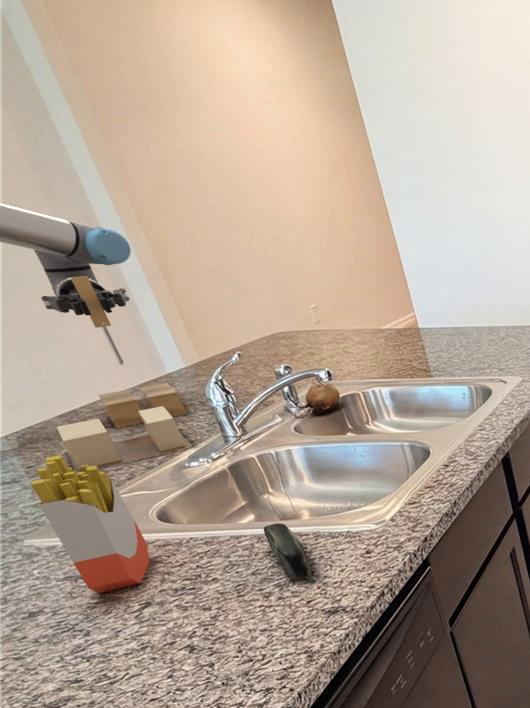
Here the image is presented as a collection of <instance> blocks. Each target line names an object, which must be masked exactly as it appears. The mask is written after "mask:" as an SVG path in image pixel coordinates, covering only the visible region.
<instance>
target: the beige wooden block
mask: <svg viewBox="0 0 530 708" xmlns="http://www.w3.org/2000/svg"><path fill="white" fill-rule="evenodd" d="M138 412H139V414H140V416H141V418H142V420H143V423H142V424H144V427H145V429H146V431H147V433H148V435H150V437H151V439H152V440H153V442H154V443H155V445H156V446H157V447H158V449H159V450H160V451H165V450H169V449H173V448H178V447H182V446H186V445H185V443H184V441H183V439H182V436H183V435H182V434H181V432H180V430H179V427H178V426H177V424H176V421H175V418H173V417H172V416H171V415H170V414H169V413H168V412H167V410H166V409H165V408H164V407H163V406H162V407H156V408H151V409H149V408H147V409H141V411H138ZM181 435H182V436H181Z"/></svg>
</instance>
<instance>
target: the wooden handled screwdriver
mask: <svg viewBox="0 0 530 708" xmlns="http://www.w3.org/2000/svg"><path fill="white" fill-rule="evenodd" d="M71 280H72V282H73V284H74V286H75V288H76V290H77V292H78V294H79V296H80V298H82V299H83V300H84V301H85V303H86V305H87V307H88V309H89V311H90V313H91V315H88V316H89V318H90V320H91V322H92V324H93V326H94V328H95V329H97V328H101V330H102V332H103V334H104V336H105V338H106V340H107V342H108V344H109V346H110V348H111V350H112V352H113V354H114V356H115V358H116V360H117V362H118V364H119V366H123V365H124V360H123V357H122V356H121V353H120V352H119V350H118V348H117V346H116V344H115V341H114V340H113V338H112V335H111V334H110V332H109V329H108V328H107V327H111V326H112V324H111V321H110V320H109V318H108V316H107V312H106V311H105V310H103V308H102V306H101V303H100V301H99V299H98V297H97V295H96V293H95V291H94V289H93V287H92V285H91V283H90V281H89V279H88V277H87V276H84V277H72V278H71Z"/></svg>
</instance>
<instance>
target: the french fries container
mask: <svg viewBox="0 0 530 708" xmlns="http://www.w3.org/2000/svg"><path fill="white" fill-rule="evenodd" d="M45 465H46V466H47V467H42V468H39V469H38V470H36V473H37V475H38V476H39V478H40V479H37V480H32V481H31V482H30V487H31V488H32V489H33V491H34V493H35V494H36V496H37V497H38V499H39V500H40V503H38V505H39V507H40V509H41V510H42V512H43V514H44V515H45V517H46V519H47V520H48V523H49V524H50V526H51V528H52V529H53V530H54V532H55V534H56V536H57V537H58V539H59V541H60V543H61V545H62V546H63V548H64V550H65V551H66V553H67V554H68V556H69V558H70V559H71V561H72V563H73V565H74V567H75V568H76V570H77V571H78V573H79V575H80V576H81V579H82V580H83V582H84V584H85V585H86V586H87V589H89V590H91V591H93V592H96V593H98V594H101V593H105V592H110V591H115V590H118V589H123V588H126V587H130V586H135V585H138V584H141V583H142V581H143V579H144V577H145V574H146V573H147V569H148V568H149V565H150V562H151V559H150V555H149V548H148V543H147V542H146V540H145V538H144V536H143V534H142V532H141V530H140V529H139V526H138V525H137V522H136V521H135V519H134V517H133V515H132V514H131V512H130V510H129V508H128V506H127V505H126V503H125V501H124V499H123V497H122V496H121V494H120V492H119V490H118V488H117V487H116V485H115V483H114V481H113V480H112V478H110V477H108V474H107V473H106V472H105V471H100V469H98V467H97V466H89V465H83V466H81V468H82V470H83V471H79V472H75V470H74V468H73V466H71V467H69V466H68V464H67V462H66V460H65V458H64V457H63V454H59V455H53V456H47V457H46V460H45Z"/></svg>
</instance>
